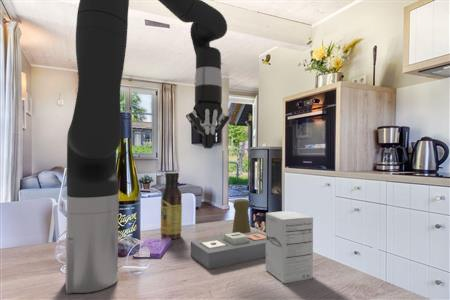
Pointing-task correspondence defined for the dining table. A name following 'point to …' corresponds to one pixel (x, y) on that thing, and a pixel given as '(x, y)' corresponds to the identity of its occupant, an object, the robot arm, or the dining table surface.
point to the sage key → (235, 238)
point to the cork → (241, 216)
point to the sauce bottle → (171, 207)
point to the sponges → (156, 246)
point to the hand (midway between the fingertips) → (208, 148)
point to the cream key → (213, 244)
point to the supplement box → (289, 246)
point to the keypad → (228, 252)
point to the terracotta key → (256, 237)
